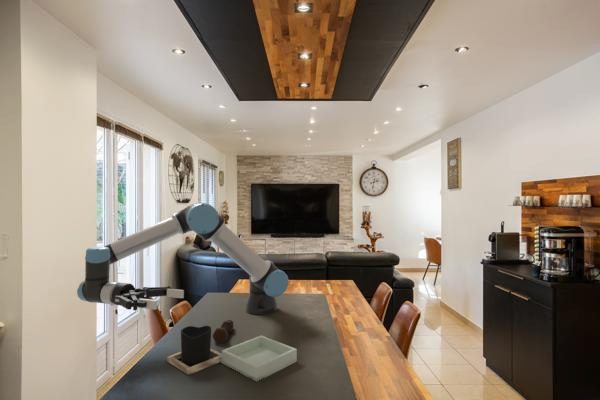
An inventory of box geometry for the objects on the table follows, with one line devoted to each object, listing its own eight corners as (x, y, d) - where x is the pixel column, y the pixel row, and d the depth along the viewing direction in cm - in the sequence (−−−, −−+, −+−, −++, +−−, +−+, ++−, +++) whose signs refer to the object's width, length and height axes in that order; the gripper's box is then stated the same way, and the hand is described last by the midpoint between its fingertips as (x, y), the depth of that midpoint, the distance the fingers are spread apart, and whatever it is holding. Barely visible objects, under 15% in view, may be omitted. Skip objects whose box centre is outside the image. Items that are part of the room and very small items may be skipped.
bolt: (231, 332, 139) (221, 346, 124) (221, 326, 139) (210, 339, 124) (238, 320, 139) (229, 332, 124) (228, 313, 139) (218, 325, 124)
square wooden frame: (202, 348, 119) (202, 344, 119) (224, 360, 110) (224, 355, 110) (166, 361, 109) (166, 356, 109) (188, 374, 101) (188, 369, 101)
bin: (261, 346, 121) (261, 335, 121) (296, 361, 110) (296, 349, 110) (221, 363, 108) (221, 350, 108) (256, 381, 97) (256, 367, 97)
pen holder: (198, 352, 116) (198, 322, 116) (217, 359, 111) (217, 328, 111) (174, 362, 109) (174, 330, 109) (193, 370, 103) (193, 337, 103)
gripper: (144, 295, 131) (192, 300, 125) (87, 315, 107) (143, 323, 101) (144, 276, 131) (192, 280, 125) (87, 291, 107) (143, 297, 101)
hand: (170, 299), depth 113 cm, fingers open, 13 cm apart
